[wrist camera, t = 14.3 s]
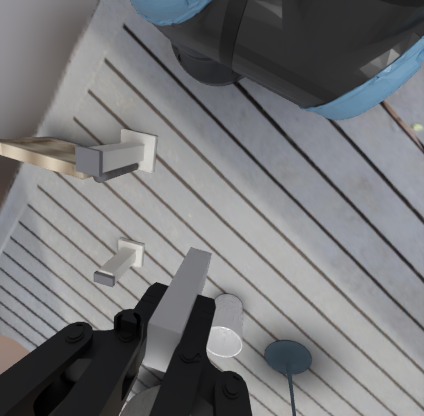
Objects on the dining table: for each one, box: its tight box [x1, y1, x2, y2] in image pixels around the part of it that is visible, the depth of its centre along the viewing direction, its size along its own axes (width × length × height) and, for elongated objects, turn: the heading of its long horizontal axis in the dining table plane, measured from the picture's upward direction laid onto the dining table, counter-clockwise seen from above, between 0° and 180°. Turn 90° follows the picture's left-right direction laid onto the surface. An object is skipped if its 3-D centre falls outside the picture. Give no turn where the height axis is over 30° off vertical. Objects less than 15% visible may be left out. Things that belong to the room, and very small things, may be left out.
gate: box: [0, 137, 139, 183], centre depth 41 cm, size 20×2×11 cm, turn 77°
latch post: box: [94, 238, 145, 287], centre depth 49 cm, size 6×6×11 cm
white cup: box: [206, 294, 243, 357], centre depth 49 cm, size 8×8×10 cm
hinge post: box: [75, 129, 158, 177], centre depth 38 cm, size 7×7×15 cm
